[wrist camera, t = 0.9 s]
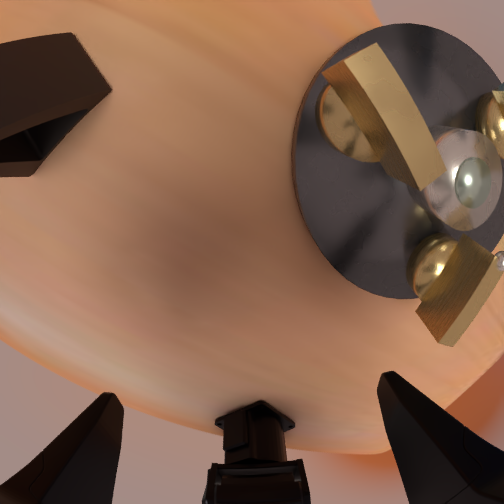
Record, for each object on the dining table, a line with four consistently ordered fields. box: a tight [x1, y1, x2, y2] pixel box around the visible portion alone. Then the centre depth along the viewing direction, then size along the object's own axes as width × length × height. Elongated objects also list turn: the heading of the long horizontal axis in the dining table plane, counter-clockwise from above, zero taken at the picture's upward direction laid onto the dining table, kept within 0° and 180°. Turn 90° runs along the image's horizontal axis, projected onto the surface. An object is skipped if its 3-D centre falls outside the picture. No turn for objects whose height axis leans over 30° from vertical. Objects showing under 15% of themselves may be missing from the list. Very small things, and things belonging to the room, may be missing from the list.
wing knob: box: [406, 233, 504, 347], centre depth 16 cm, size 7×5×6 cm
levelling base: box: [292, 23, 504, 299], centre depth 15 cm, size 20×20×7 cm
